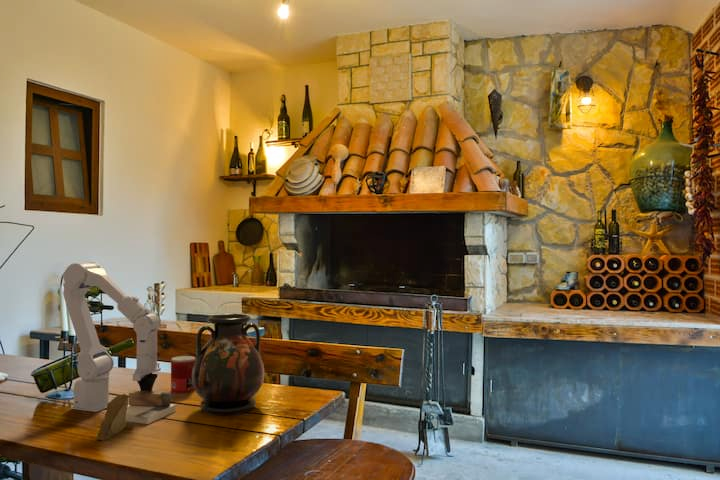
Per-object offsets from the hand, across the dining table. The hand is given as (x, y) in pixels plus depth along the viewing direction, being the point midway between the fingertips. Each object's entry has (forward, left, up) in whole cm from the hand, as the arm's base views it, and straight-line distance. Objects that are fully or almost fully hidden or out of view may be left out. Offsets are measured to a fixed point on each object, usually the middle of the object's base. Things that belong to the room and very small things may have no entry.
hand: (146, 398), depth 163 cm
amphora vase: (+22, +9, -3) cm, 25 cm away
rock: (+5, -20, -4) cm, 21 cm away
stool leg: (+3, -2, -1) cm, 3 cm away
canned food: (-3, +21, -3) cm, 22 cm away
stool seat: (+3, -5, -3) cm, 6 cm away
